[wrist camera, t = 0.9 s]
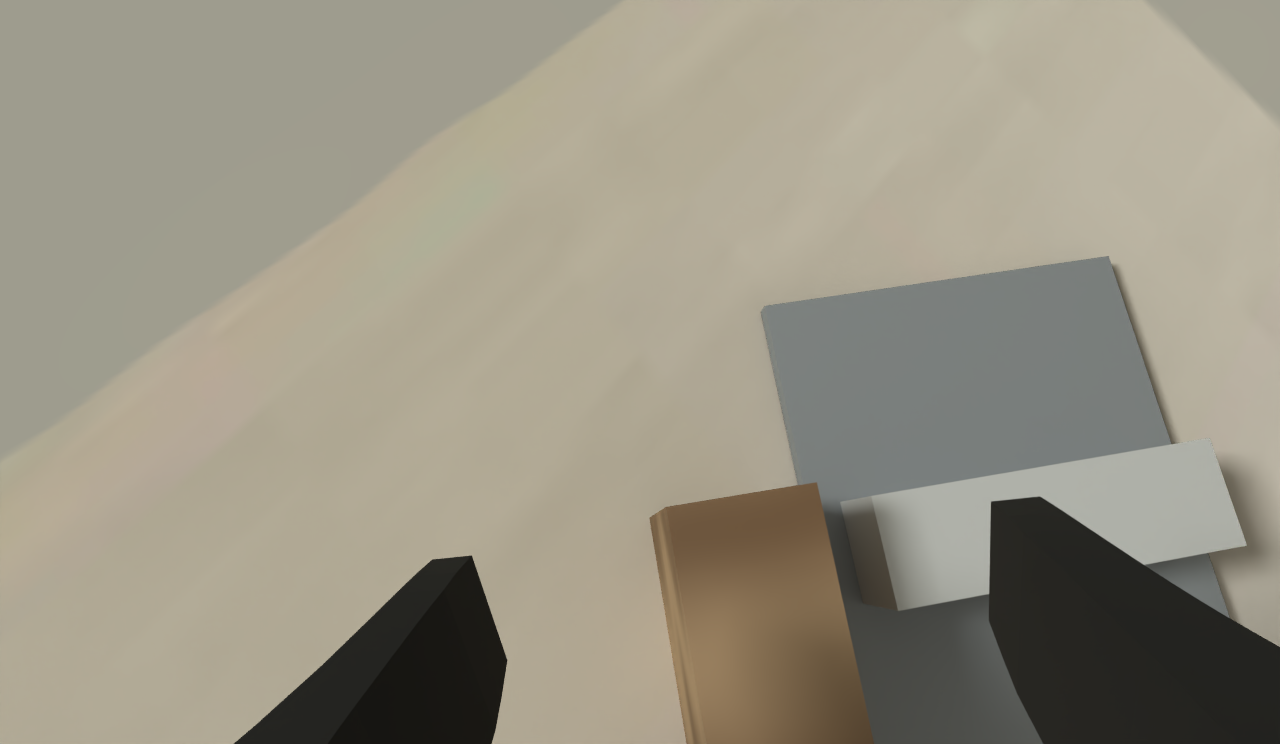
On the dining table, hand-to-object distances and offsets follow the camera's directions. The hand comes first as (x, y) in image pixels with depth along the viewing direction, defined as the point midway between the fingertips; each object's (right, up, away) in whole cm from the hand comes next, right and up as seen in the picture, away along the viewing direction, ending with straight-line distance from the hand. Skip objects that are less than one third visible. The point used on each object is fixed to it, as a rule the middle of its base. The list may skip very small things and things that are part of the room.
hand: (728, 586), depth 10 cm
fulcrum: (+10, -2, +13) cm, 16 cm away
